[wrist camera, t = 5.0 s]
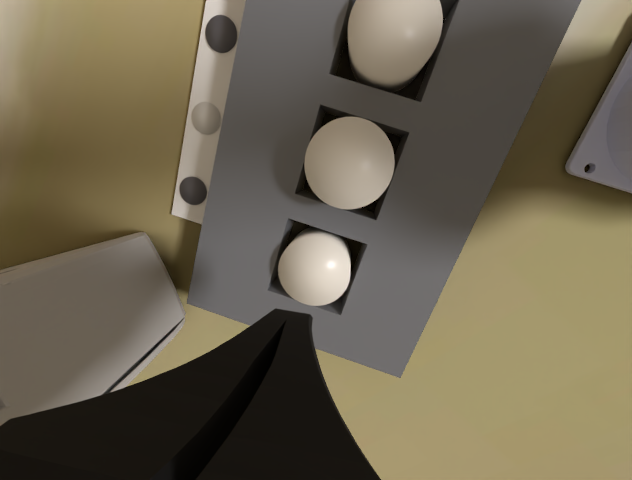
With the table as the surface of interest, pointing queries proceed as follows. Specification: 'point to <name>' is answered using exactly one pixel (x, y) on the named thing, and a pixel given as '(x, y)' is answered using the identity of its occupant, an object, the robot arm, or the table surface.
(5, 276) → the stereo radio cassette player
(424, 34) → the button
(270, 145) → the board
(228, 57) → the card
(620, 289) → the table surface
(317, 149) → the button
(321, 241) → the button
